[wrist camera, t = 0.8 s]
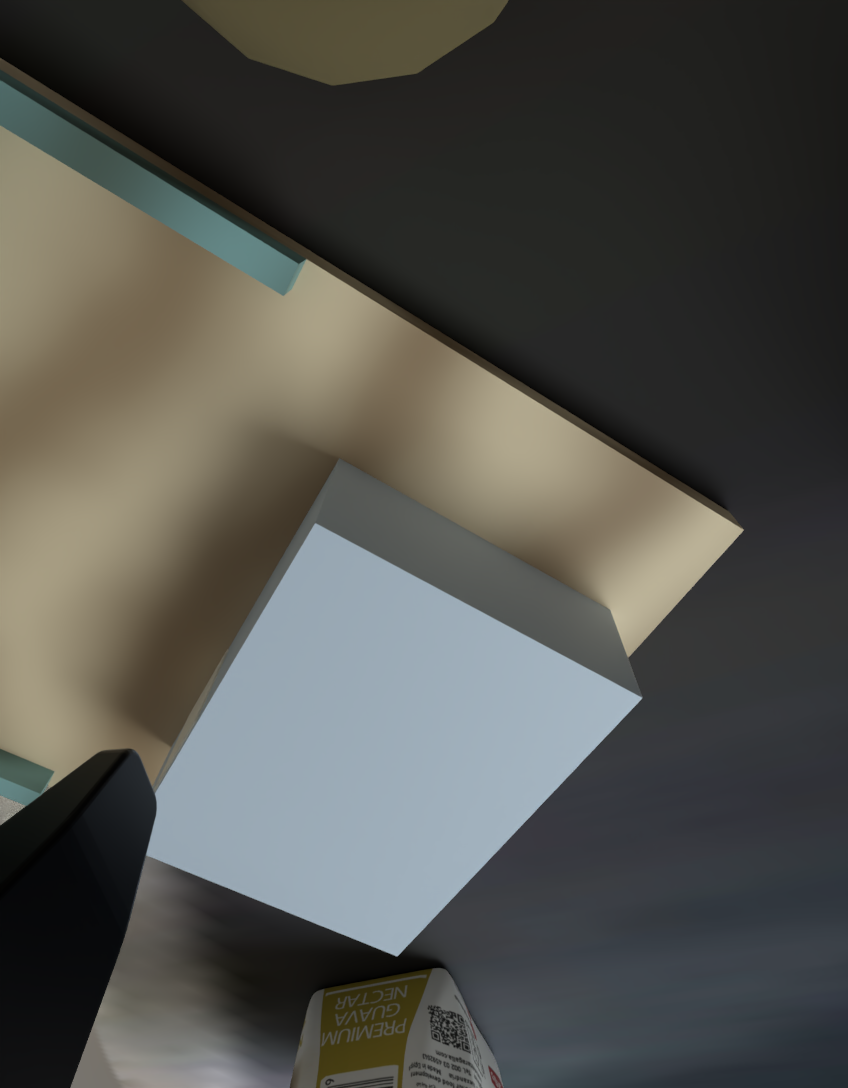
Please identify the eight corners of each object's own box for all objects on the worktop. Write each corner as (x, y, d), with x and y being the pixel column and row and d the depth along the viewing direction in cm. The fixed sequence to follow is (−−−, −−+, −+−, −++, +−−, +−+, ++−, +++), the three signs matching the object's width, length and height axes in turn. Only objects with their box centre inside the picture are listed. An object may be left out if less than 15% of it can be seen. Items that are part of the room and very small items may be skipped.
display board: (729, 511, 21) (780, 575, 18) (387, 897, 29) (380, 990, 26) (-20, 45, 17) (-137, 15, 13) (-180, 658, 25) (-276, 734, 21)
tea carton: (611, 610, 21) (644, 698, 18) (405, 850, 26) (398, 957, 23) (337, 456, 20) (313, 522, 16) (169, 746, 24) (122, 845, 21)
